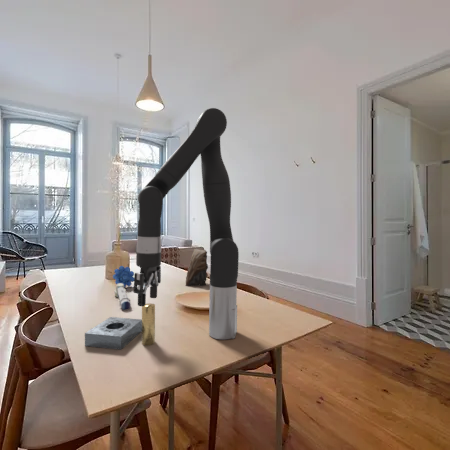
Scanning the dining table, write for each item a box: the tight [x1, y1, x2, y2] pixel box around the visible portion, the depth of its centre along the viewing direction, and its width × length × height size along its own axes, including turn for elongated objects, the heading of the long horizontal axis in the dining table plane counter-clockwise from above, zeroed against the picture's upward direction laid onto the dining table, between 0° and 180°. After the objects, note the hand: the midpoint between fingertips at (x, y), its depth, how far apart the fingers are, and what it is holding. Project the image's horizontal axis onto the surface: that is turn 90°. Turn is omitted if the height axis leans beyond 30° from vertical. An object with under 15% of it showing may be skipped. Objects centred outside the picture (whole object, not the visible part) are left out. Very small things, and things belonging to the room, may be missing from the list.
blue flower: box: [112, 265, 135, 288], centre depth 155 cm, size 12×7×12 cm, turn 125°
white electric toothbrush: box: [113, 283, 131, 311], centre depth 132 cm, size 5×7×25 cm
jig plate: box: [84, 316, 142, 351], centre depth 93 cm, size 12×14×4 cm
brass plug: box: [141, 302, 156, 347], centre depth 90 cm, size 4×4×12 cm
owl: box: [185, 248, 209, 287], centre depth 166 cm, size 13×13×20 cm
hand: (147, 301), depth 90 cm, fingers open, 8 cm apart
